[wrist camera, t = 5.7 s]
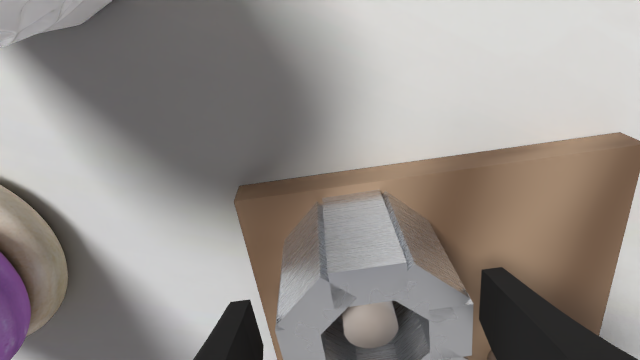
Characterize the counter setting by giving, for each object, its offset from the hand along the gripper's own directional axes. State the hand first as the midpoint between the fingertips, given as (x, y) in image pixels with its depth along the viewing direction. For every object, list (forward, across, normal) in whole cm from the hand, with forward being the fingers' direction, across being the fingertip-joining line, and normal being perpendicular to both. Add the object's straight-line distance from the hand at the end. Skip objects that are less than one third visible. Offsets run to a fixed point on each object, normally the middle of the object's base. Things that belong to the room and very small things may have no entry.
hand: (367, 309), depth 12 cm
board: (+4, -3, +3) cm, 6 cm away
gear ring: (+3, 0, 0) cm, 3 cm away
